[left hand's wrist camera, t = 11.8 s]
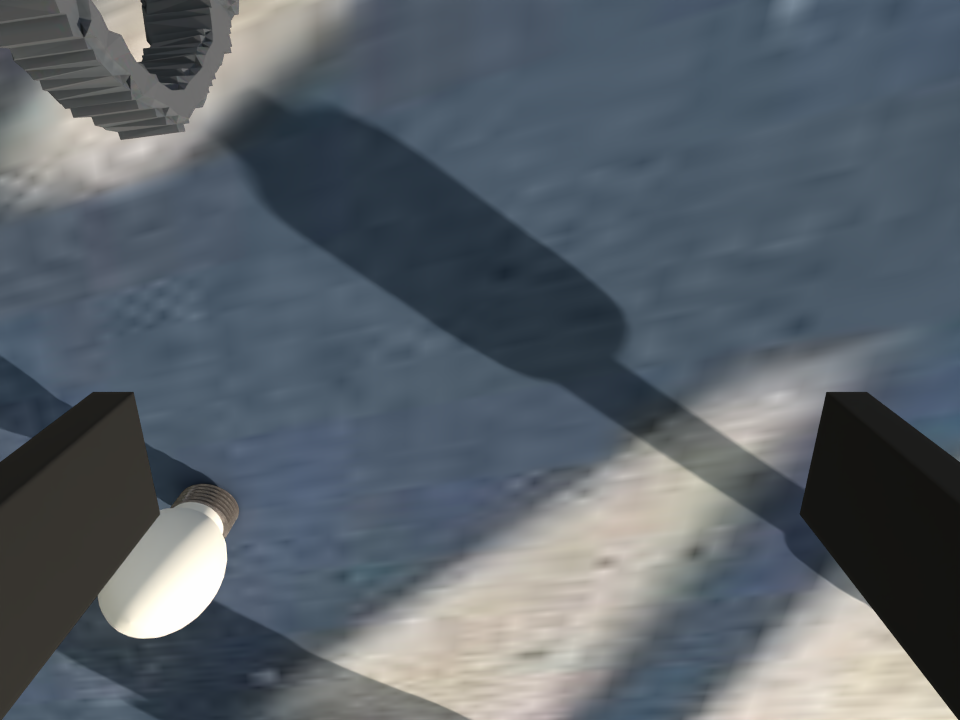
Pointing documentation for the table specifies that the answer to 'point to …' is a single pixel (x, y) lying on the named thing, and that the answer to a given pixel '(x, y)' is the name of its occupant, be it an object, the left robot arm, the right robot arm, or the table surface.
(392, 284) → the table surface
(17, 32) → the toy
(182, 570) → the light bulb
